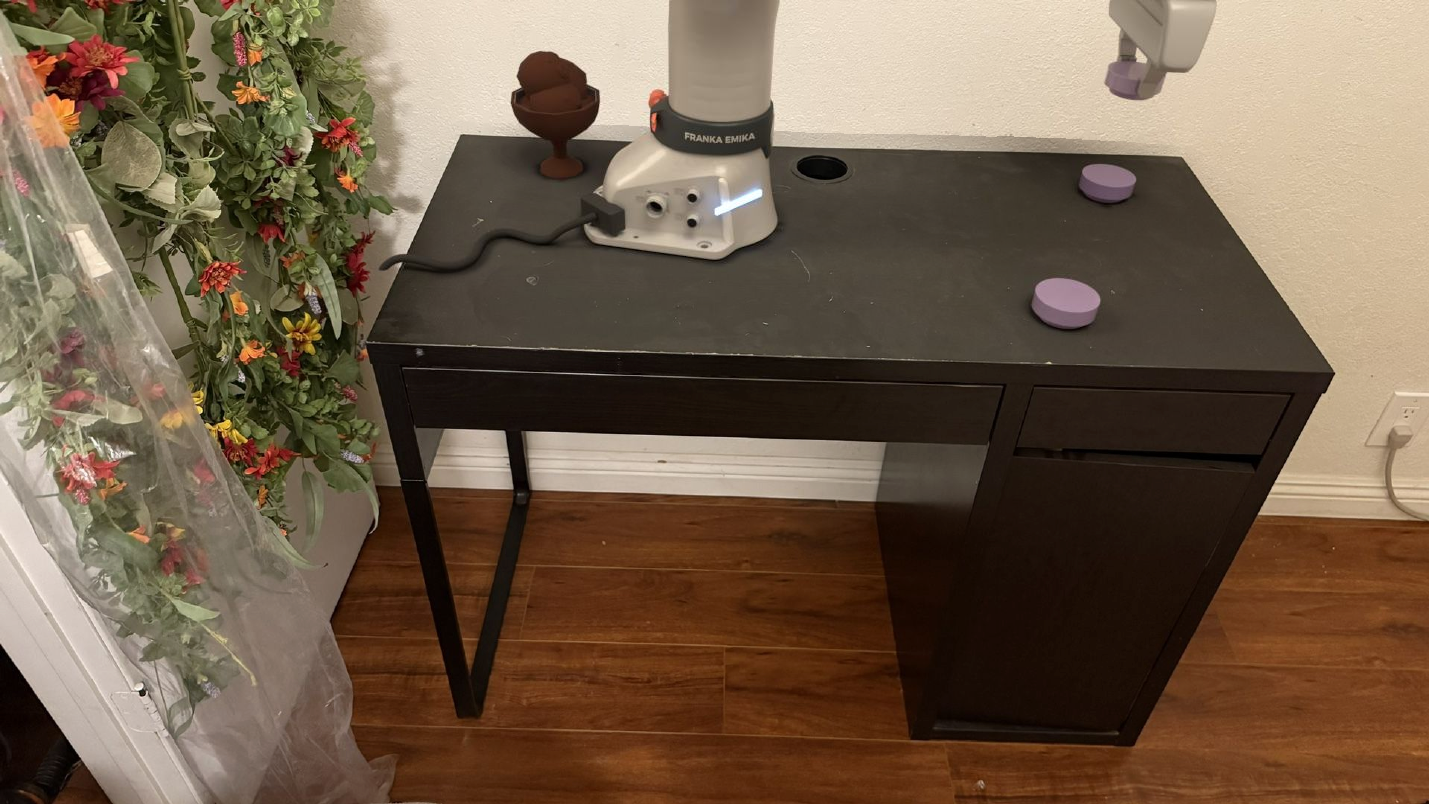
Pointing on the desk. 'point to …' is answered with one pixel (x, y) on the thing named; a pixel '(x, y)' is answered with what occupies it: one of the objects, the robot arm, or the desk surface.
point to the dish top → (1127, 79)
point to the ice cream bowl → (555, 107)
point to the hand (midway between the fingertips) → (1133, 83)
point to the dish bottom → (1107, 183)
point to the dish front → (1065, 303)
